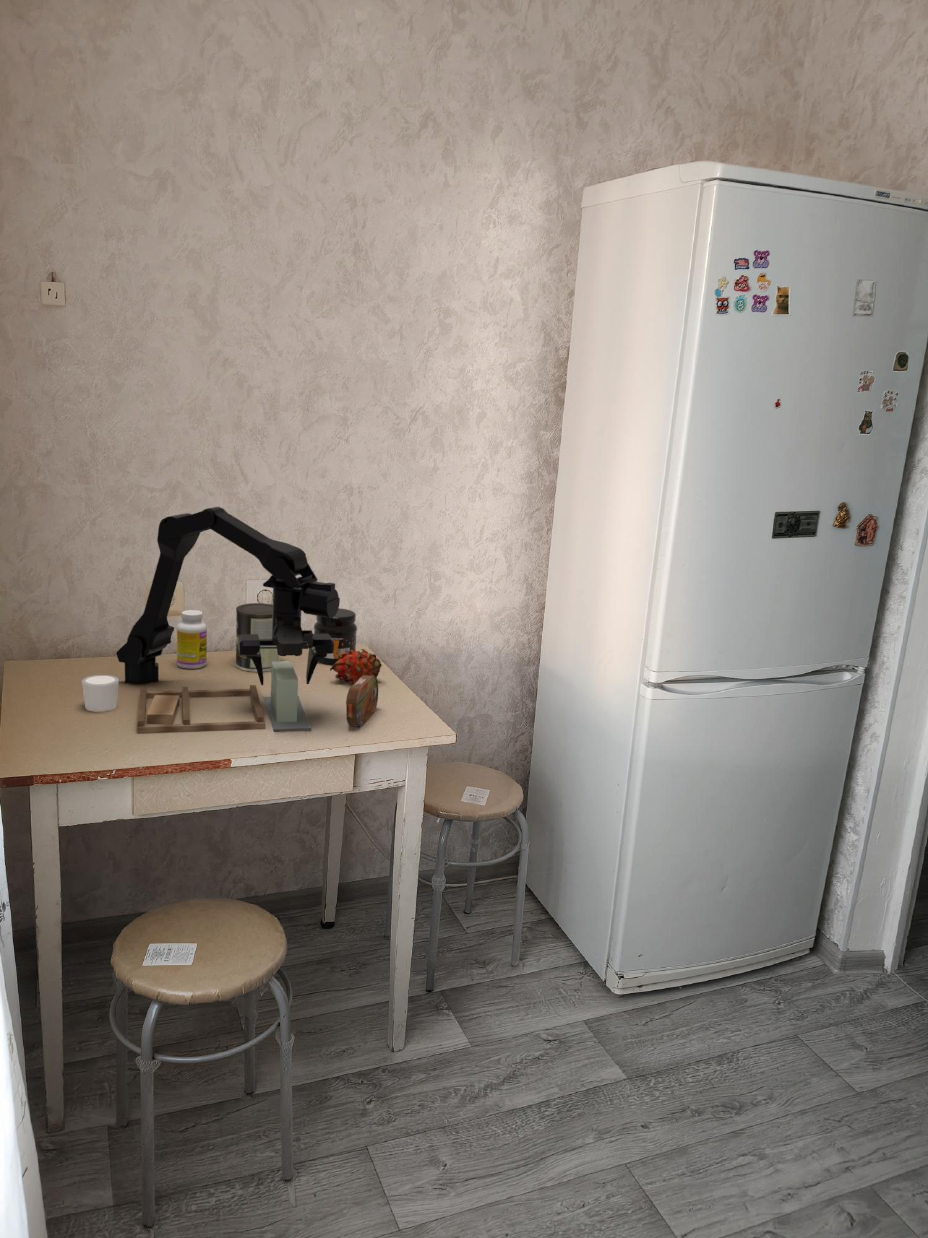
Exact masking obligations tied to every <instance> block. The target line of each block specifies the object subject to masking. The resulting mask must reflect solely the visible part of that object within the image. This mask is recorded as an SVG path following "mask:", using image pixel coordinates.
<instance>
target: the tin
mask: <svg viewBox="0 0 928 1238" xmlns="http://www.w3.org/2000/svg"><path fill="white" fill-rule="evenodd" d="M377 678H378V677H376V676H374V675H373V676H367V675H364V676H361V677H360V678H359V679H358V680H357V681H356V682H355V683H354V682H353V684H352V685H351V686H350V687H349V689H348V692H347V695H346V700H345V704H346V705H345V706H346V708H345V709H346V722H347V724H348V725H350V726H356V727H357V726H358V727H360V728H361V727H364V725H365V724H366V723H368V721H369V720H370V718H371V717H372V716H373V715H374V714H375V711H376V710H377V706H378V699H379V682H378V679H377Z"/></svg>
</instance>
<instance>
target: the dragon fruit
mask: <svg viewBox="0 0 928 1238" xmlns="http://www.w3.org/2000/svg"><path fill="white" fill-rule="evenodd" d="M360 650H361V651H360ZM360 650H357V651H355V650H350V651H349V653H345V654H342V656H341V658H340V659H339V660H338V661H337V662H336V663H335V664H334V665H331V667H330V669H329V671H330V672H331V671H332V670H333V671H334V672H336V674H335V679H337V680H339V681H341V682H346V683H352V682H353V684H354V683H355V682H356V681H357V680H358V679H359V678H360V677H361V676H364V675H367V676H373V675H374V676H376V678H378V676H379V674H380V671H381V667H382V666H383V664H382V662H381V660H380V659H379V657H377V655H376V654H375V653H371V652H368V651H367V650H365V649H364V648H361V649H360Z"/></svg>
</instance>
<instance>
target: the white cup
mask: <svg viewBox="0 0 928 1238" xmlns="http://www.w3.org/2000/svg"><path fill="white" fill-rule="evenodd" d="M119 681H120V679H119V677H117V676H114V675H109V674H97V675H96V674H95V675H90V676H86V677H84V678H82V680H81V685H82V693H83V700H84V708H85V710H87V711H90V712H95V713H104V712H110V711H112V710H115V709H116V708H117V705H118V695H119V694H118V693H119Z"/></svg>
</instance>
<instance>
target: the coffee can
mask: <svg viewBox="0 0 928 1238" xmlns="http://www.w3.org/2000/svg"><path fill="white" fill-rule="evenodd" d="M272 610H273V604H271V603H262V602H255V603H252V602H251V603H244V604H241V605H238V606H236V608H235V612H236V614H235V615H236V620H235V621H236V622H235V623H236V625H235V627H236V628H235V629H236V631H235V635H236V639H235V665H234V666H235V668H237V669H238V670H241V671H244V672H250V673H257V669H256V667H255V665H254V663H253V661H252V659H248V658H246V655H241V654H239V650H238V637H239V636H240V635H241V634H258V636H259V639H272ZM260 654H261V660H262V670H263V673H265V672H271V669H272V662H280V656H279V655H278V653H277V649H260Z"/></svg>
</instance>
